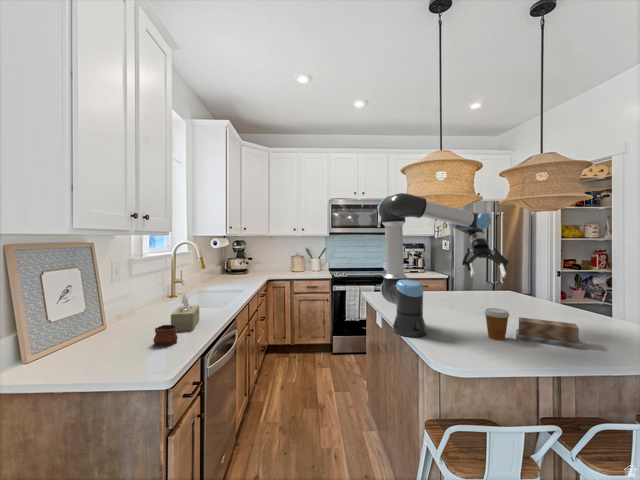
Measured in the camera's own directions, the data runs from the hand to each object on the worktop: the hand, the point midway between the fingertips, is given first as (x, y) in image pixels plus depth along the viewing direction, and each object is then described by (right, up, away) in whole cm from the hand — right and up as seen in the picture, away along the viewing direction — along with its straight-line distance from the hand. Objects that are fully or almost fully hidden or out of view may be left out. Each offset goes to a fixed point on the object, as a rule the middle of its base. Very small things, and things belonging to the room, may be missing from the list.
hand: (488, 275), depth 144 cm
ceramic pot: (-142, -26, -18) cm, 145 cm away
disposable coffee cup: (-2, -26, -10) cm, 28 cm away
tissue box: (-145, -26, +8) cm, 148 cm away
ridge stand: (+18, -26, -13) cm, 34 cm away
